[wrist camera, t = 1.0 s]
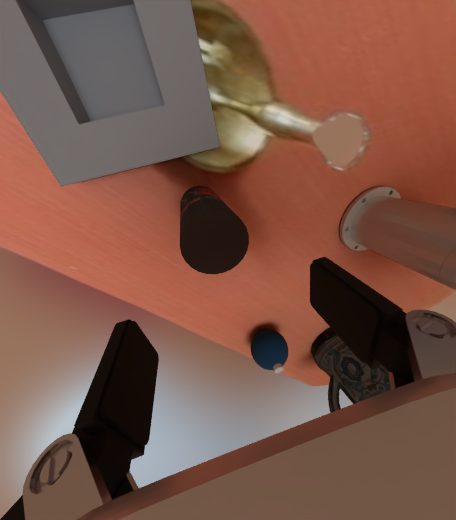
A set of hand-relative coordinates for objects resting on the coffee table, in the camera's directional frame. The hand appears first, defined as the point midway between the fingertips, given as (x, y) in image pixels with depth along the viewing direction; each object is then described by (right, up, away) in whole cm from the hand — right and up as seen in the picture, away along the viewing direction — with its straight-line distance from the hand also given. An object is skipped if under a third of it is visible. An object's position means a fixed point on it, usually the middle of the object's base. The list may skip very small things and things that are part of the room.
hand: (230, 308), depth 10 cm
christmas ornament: (+8, -16, +37) cm, 41 cm away
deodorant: (-4, +11, +19) cm, 23 cm away
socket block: (-13, +23, +11) cm, 28 cm away
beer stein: (+31, -23, +46) cm, 60 cm away
